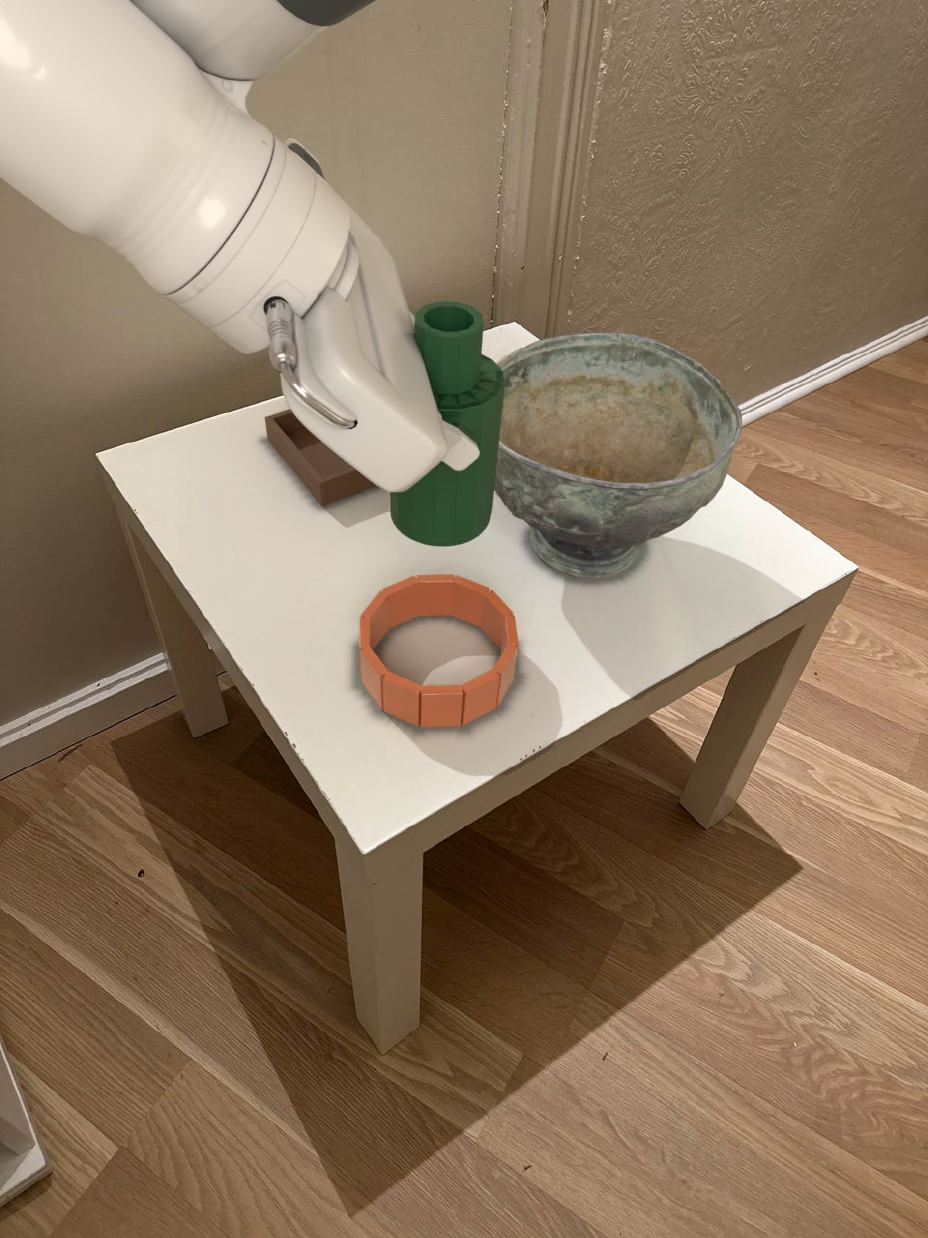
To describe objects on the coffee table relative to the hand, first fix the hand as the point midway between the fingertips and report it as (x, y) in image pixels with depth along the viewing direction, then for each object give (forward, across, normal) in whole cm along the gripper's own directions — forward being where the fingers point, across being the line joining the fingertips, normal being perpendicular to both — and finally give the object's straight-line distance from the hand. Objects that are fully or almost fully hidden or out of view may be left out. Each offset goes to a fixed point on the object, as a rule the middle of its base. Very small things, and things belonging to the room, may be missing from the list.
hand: (455, 413), depth 51 cm
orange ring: (+16, 0, +16) cm, 23 cm away
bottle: (+5, 0, +6) cm, 7 cm away
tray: (+14, +28, +18) cm, 36 cm away
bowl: (+26, +12, +6) cm, 30 cm away
